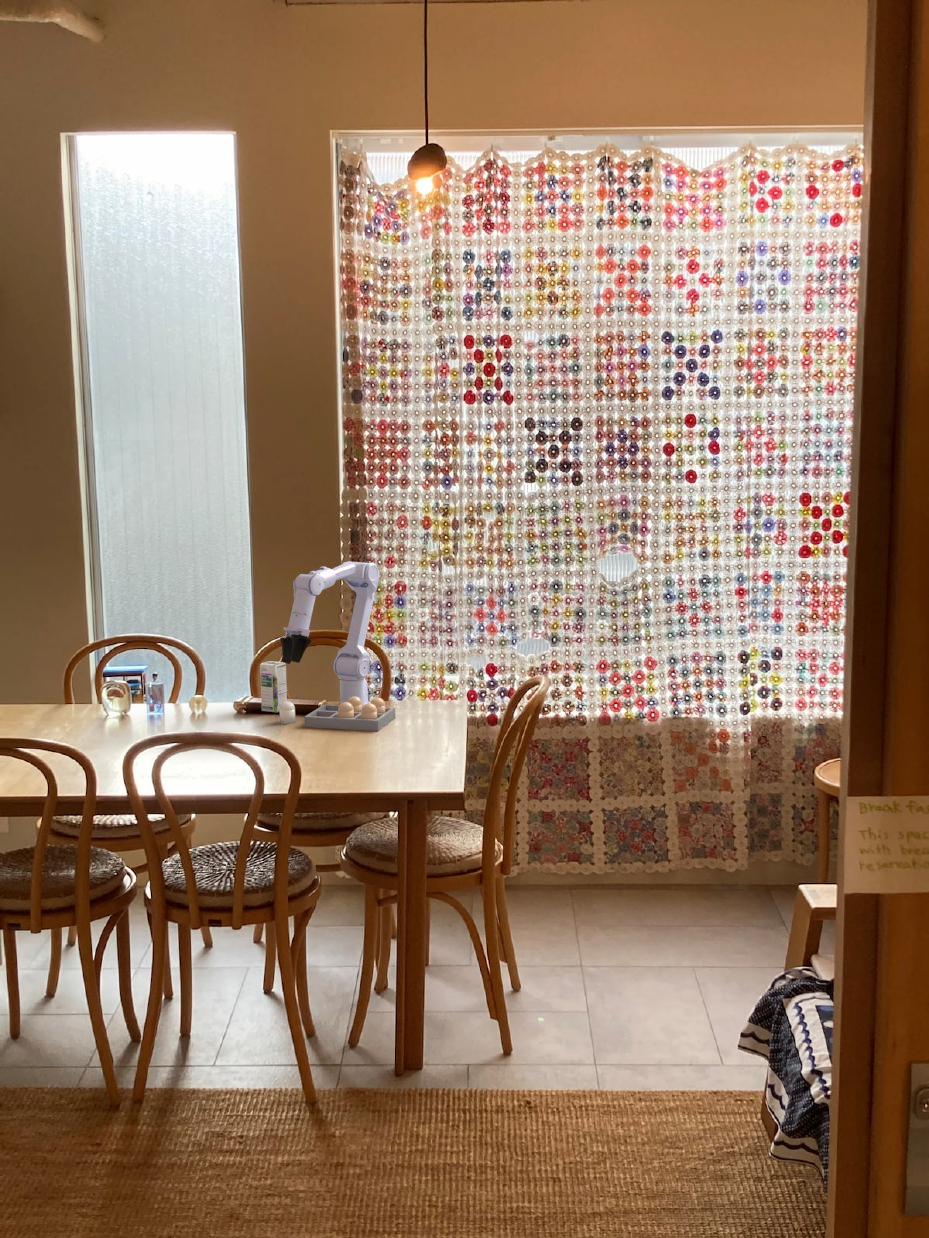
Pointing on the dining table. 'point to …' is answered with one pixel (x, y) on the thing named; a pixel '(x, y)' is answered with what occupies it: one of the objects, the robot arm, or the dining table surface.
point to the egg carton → (352, 715)
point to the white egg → (287, 713)
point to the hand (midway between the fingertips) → (290, 662)
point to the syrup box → (273, 685)
